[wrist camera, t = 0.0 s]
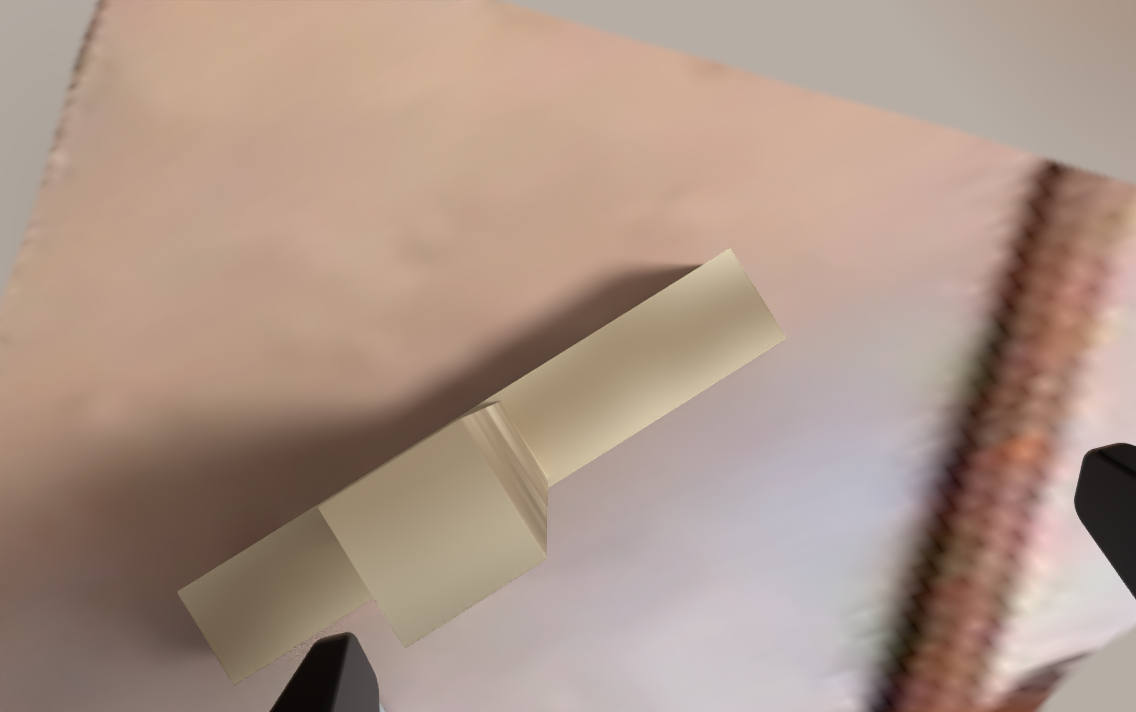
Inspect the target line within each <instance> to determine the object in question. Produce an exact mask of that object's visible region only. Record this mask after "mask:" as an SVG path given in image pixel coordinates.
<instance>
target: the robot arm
mask: <svg viewBox="0 0 1136 712" xmlns="http://www.w3.org/2000/svg"><path fill="white" fill-rule="evenodd" d="M1074 504H1075V509H1076V512H1077V515H1078V517H1079V519H1080V520H1081V522H1082V523H1083V525H1084V526H1085V528H1086V529H1087V531H1088V532H1089V533H1090V535H1091V536H1092V538H1093V539H1094V541H1095V542H1096V543H1097V545H1098V546H1099V548H1100V549H1101V551H1102V552H1103V553H1104V555H1105V556H1106V558H1107V559H1108V560H1109V562H1110V563H1111V565H1112V566H1113V568H1114V569H1115V570H1116V572H1117V573H1118V575H1119V576H1120V578H1121V579H1122V580H1123V582H1124V583H1125V585H1126V586H1127V588H1128V589H1129V590H1130V592H1131V593H1132V595H1133V596H1134V598H1135V599H1136V446H1134V445H1131V444H1127V443H1116V444H1111V445H1107V446H1103V447H1099V448H1095V449H1092V450H1090V451H1088V452H1087V453H1086V454H1085V456H1084V458H1083V461H1082V465H1081V470H1080V474H1079V479H1078V483H1077V488H1076V492H1075V497H1074ZM270 712H380V706H379V689H378V683H377V678H376V675H375V673H374V671H373V669H372V667H371V665H370V663H369V661H368V659H367V657H366V655H365V653H364V651H363V649H362V647H361V645H360V643H359V641H358V639H357V638H356V636H355V635H354V634H352V633H350V632H345V633H341V634H337V635H333V636H329V637H324V638H321V639H319V640H318V641H317V642H315V643H314V644H313V646H312V647H311V649H310V650H309V652H308V653H307V655H306V656H305V658H304V659H303V661H302V663H301V664H300V666H299V667H298V669H297V670H296V672H295V673H294V675H293V676H292V678H291V680H290V681H289V683H288V684H287V686H286V687H285V689H284V690H283V692H282V693H281V695H280V697H279V698H278V700H277V701H276V703H275V704H274V706H273V707H272V709H271V710H270Z"/></svg>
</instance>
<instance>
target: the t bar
mask: <svg viewBox="0 0 1136 712" xmlns="http://www.w3.org/2000/svg"><path fill="white" fill-rule="evenodd" d="M786 338H787V337H786V336H785V334H784V333H783V331H782V329H781V328H780V326H779V325H778V323H777V321H776V320H775V318H774V317H773V315H772V314H771V312H770V310H769V309H768V307H767V306H766V304H765V302H764V301H763V299H762V298H761V296H760V294H759V293H758V291H757V290H756V288H755V286H754V285H753V283H752V282H751V280H750V278H749V277H748V275H747V274H746V272H745V271H744V269H743V267H742V266H741V264H740V263H739V261H738V259H737V258H736V256H735V255H734V253H733V251H732V250H731V248H729V249H728V250H726V251H724V252H723V253H721V254H720V255H718V256H716V257H715V258H713V259H711V260H710V261H708V262H707V263H705V264H703V265H702V266H700V267H699V268H697V269H695V270H694V271H692V272H691V273H689V274H687V275H686V276H684V277H683V278H681V279H679V280H678V281H676V282H674V283H673V284H671V285H670V286H668V287H666V288H665V289H663V290H662V291H660V292H658V293H657V294H655V295H654V296H652V297H650V298H649V299H647V300H646V301H644V302H642V303H641V304H639V305H637V306H636V307H634V308H633V309H631V310H629V311H628V312H626V313H625V314H623V315H621V316H620V317H618V318H617V319H615V320H613V321H612V322H610V323H609V324H607V325H605V326H604V327H602V328H600V329H599V330H597V331H596V332H594V333H592V334H591V335H589V336H588V337H586V338H584V339H583V340H581V341H580V342H578V343H576V344H575V345H573V346H571V347H570V348H568V349H567V350H565V351H563V352H562V353H560V354H559V355H557V356H555V357H554V358H552V359H551V360H549V361H547V362H546V363H544V364H543V365H541V366H539V367H538V368H536V369H534V370H533V371H531V372H530V373H528V374H526V375H525V376H523V377H522V378H520V379H518V380H517V381H515V382H514V383H512V384H510V385H509V386H507V387H506V388H504V389H502V390H501V391H499V392H497V393H496V394H494V395H493V396H491V397H489V398H488V399H486V400H485V401H483V402H481V403H480V404H478V405H477V406H475V407H473V408H472V409H470V410H469V411H467V412H465V413H464V414H462V415H460V416H459V417H457V418H456V419H454V420H452V421H451V422H449V423H448V424H446V425H444V426H443V427H441V428H440V429H438V430H436V431H435V432H433V433H431V434H430V435H428V436H427V437H425V438H423V439H422V440H420V441H419V442H417V443H415V444H414V445H412V446H411V447H409V448H407V449H406V450H404V451H403V452H401V453H399V454H398V455H396V456H394V457H393V458H391V459H390V460H388V461H386V462H385V463H383V464H382V465H380V466H378V467H377V468H375V469H374V470H372V471H370V472H369V473H367V474H366V475H364V476H362V477H361V478H359V479H357V480H356V481H354V482H353V483H351V484H349V485H348V486H346V487H345V488H343V489H341V490H340V491H338V492H337V493H335V494H333V495H332V496H330V497H329V498H327V499H325V500H324V501H322V502H320V503H319V504H317V505H316V506H314V507H312V508H311V509H309V510H308V511H306V512H304V513H303V514H301V515H300V516H298V517H296V518H295V519H293V520H291V521H290V522H288V523H287V524H285V525H283V526H282V527H280V528H279V529H277V530H275V531H274V532H272V533H271V534H269V535H267V536H266V537H264V538H263V539H261V540H259V541H258V542H256V543H254V544H253V545H251V546H250V547H248V548H246V549H245V550H243V551H242V552H240V553H238V554H237V555H235V556H234V557H232V558H230V559H229V560H227V561H226V562H224V563H222V564H221V565H219V566H217V567H216V568H214V569H213V570H211V571H209V572H208V573H206V574H205V575H203V576H201V577H200V578H198V579H197V580H195V581H193V582H192V583H190V584H189V585H187V586H185V587H184V588H182V589H180V590H179V591H177V593H178V595H179V596H180V598H181V600H182V601H183V603H184V605H185V606H186V608H187V610H188V611H189V613H190V614H191V616H192V618H193V619H194V621H195V623H196V624H197V626H198V628H199V629H200V631H201V632H202V634H203V636H204V637H205V639H206V641H207V642H208V644H209V646H210V647H211V649H212V650H213V652H214V654H215V655H216V657H217V659H218V660H219V662H220V664H221V665H222V667H223V668H224V670H225V672H226V673H227V675H228V677H229V678H230V680H231V682H232V683H233V685H236V684H237V683H239V682H241V681H242V680H244V679H245V678H247V677H249V676H250V675H252V674H253V673H255V672H256V671H258V670H260V669H261V668H263V667H264V666H266V665H268V664H269V663H271V662H272V661H274V660H276V659H277V658H279V657H280V656H282V655H284V654H285V653H287V652H288V651H290V650H291V649H293V648H295V647H296V646H298V645H299V644H301V643H303V642H304V641H306V640H307V639H309V638H311V637H312V636H314V635H315V634H317V633H319V632H320V631H322V630H323V629H325V628H326V627H328V626H330V625H331V624H333V623H334V622H336V621H338V620H339V619H341V618H342V617H344V616H346V615H347V614H349V613H350V612H352V611H354V610H355V609H357V608H358V607H360V606H361V605H363V604H365V603H366V602H368V601H369V600H371V599H373V598H374V600H375V601H376V603H377V605H378V606H379V608H380V609H381V611H382V613H383V614H384V616H385V618H386V619H387V621H388V622H389V624H390V626H391V627H392V629H393V631H394V632H395V634H396V635H397V637H398V639H399V640H400V642H401V644H402V645H403V647H404V648H407V647H409V646H410V645H412V644H413V643H415V642H416V641H418V640H420V639H421V638H423V637H424V636H426V635H428V634H429V633H431V632H432V631H434V630H435V629H437V628H439V627H440V626H442V625H443V624H445V623H447V622H448V621H450V620H451V619H453V618H454V617H456V616H458V615H459V614H461V613H462V612H464V611H465V610H467V609H469V608H470V607H472V606H473V605H475V604H477V603H478V602H480V601H481V600H483V599H484V598H486V597H488V596H489V595H491V594H492V593H494V592H496V591H497V590H499V589H500V588H502V587H503V586H505V585H507V584H508V583H510V582H511V581H513V580H515V579H516V578H518V577H519V576H521V575H522V574H524V573H526V572H527V571H529V570H530V569H532V568H533V567H535V566H537V565H538V564H540V563H541V562H543V561H545V560H546V544H547V506H548V488H549V487H551V486H552V485H554V484H556V483H557V482H559V481H560V480H562V479H564V478H565V477H567V476H568V475H570V474H572V473H573V472H575V471H576V470H578V469H579V468H581V467H583V466H584V465H586V464H587V463H589V462H591V461H592V460H594V459H595V458H597V457H599V456H600V455H602V454H603V453H605V452H607V451H608V450H610V449H611V448H613V447H614V446H616V445H618V444H619V443H621V442H622V441H624V440H626V439H627V438H629V437H630V436H632V435H634V434H635V433H637V432H638V431H640V430H642V429H643V428H645V427H646V426H648V425H649V424H651V423H653V422H654V421H656V420H657V419H659V418H661V417H662V416H664V415H665V414H667V413H669V412H670V411H672V410H673V409H675V408H677V407H678V406H680V405H681V404H683V403H684V402H686V401H688V400H689V399H691V398H692V397H694V396H696V395H697V394H699V393H700V392H702V391H704V390H705V389H707V388H708V387H710V386H712V385H713V384H715V383H716V382H718V381H719V380H721V379H723V378H724V377H726V376H727V375H729V374H731V373H732V372H734V371H735V370H737V369H739V368H740V367H742V366H743V365H745V364H747V363H748V362H750V361H751V360H753V359H754V358H756V357H758V356H759V355H761V354H762V353H764V352H766V351H767V350H769V349H770V348H772V347H774V346H775V345H777V344H778V343H780V342H782V341H783V340H785V339H786Z"/></svg>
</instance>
